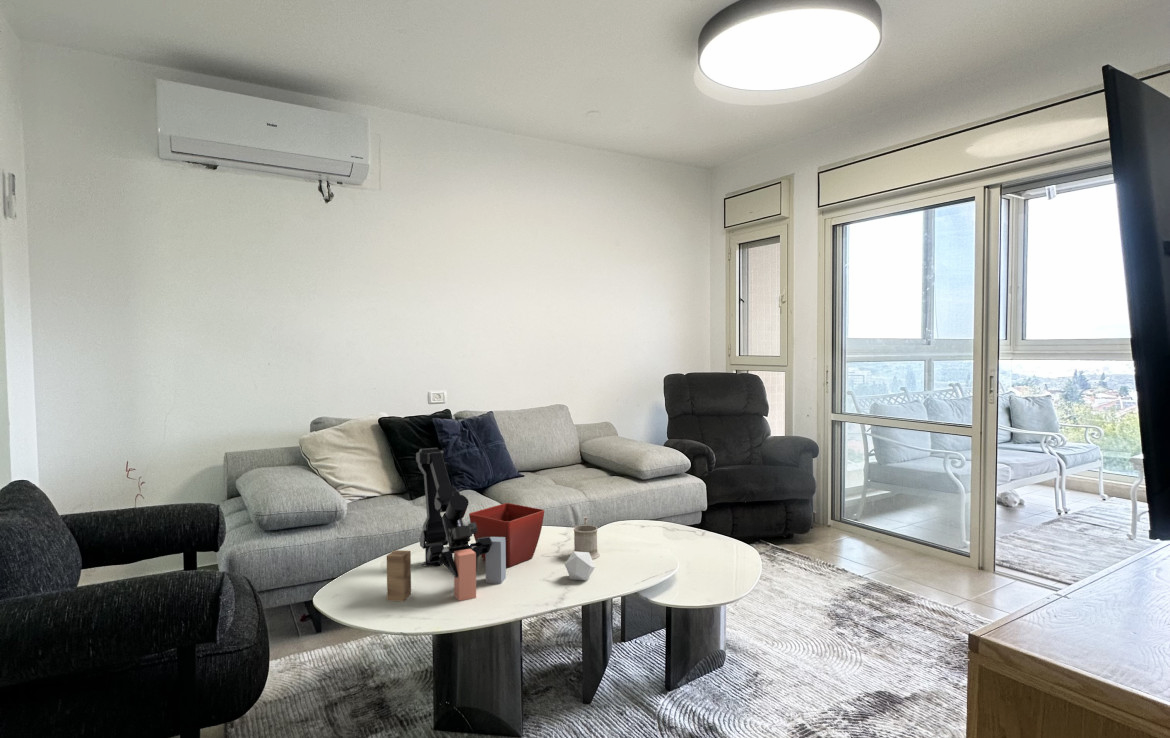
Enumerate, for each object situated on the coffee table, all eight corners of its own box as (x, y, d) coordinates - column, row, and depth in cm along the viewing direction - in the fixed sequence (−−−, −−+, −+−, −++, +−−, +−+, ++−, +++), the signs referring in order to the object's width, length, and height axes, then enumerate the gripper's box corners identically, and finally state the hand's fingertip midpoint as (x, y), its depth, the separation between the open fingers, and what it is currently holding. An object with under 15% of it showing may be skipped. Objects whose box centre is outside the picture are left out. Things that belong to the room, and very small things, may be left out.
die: (598, 577, 193) (584, 548, 198) (599, 572, 185) (585, 542, 190) (574, 589, 191) (561, 560, 196) (574, 584, 184) (560, 554, 188)
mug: (599, 560, 208) (599, 525, 208) (571, 560, 208) (570, 525, 208) (599, 547, 223) (599, 514, 223) (573, 547, 223) (572, 515, 223)
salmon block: (454, 595, 178) (454, 551, 178) (470, 592, 180) (470, 548, 180) (459, 601, 173) (459, 555, 173) (476, 597, 176) (475, 553, 176)
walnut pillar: (395, 593, 179) (394, 550, 179) (411, 594, 179) (410, 550, 179) (387, 600, 175) (386, 555, 174) (403, 601, 174) (402, 556, 174)
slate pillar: (490, 577, 193) (490, 536, 192) (505, 578, 192) (505, 537, 192) (485, 582, 188) (485, 541, 188) (501, 583, 187) (500, 541, 187)
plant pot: (508, 573, 196) (507, 521, 196) (468, 562, 208) (467, 513, 208) (546, 557, 212) (545, 509, 211) (507, 548, 223) (506, 502, 223)
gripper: (428, 518, 175) (439, 567, 166) (489, 510, 184) (503, 555, 175) (422, 538, 182) (432, 586, 173) (481, 529, 191) (494, 574, 182)
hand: (466, 575), depth 175 cm, fingers closed on salmon block, 5 cm apart
